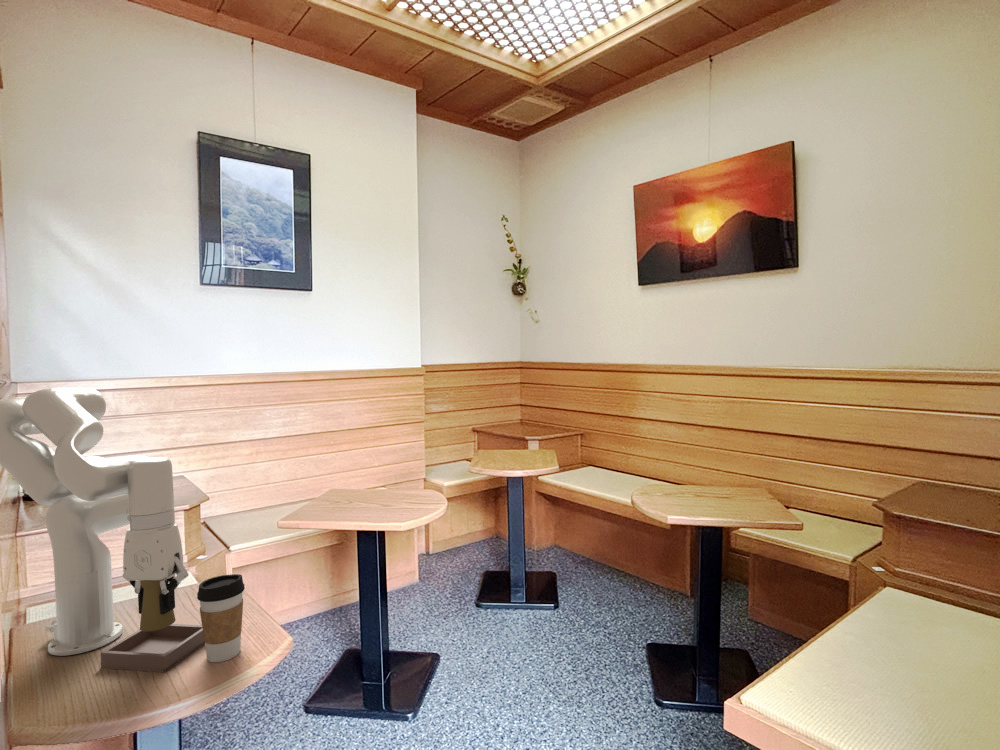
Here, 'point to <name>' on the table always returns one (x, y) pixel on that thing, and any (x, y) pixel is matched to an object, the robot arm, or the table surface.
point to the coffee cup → (221, 615)
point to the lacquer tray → (154, 648)
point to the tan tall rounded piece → (153, 608)
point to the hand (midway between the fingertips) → (157, 610)
